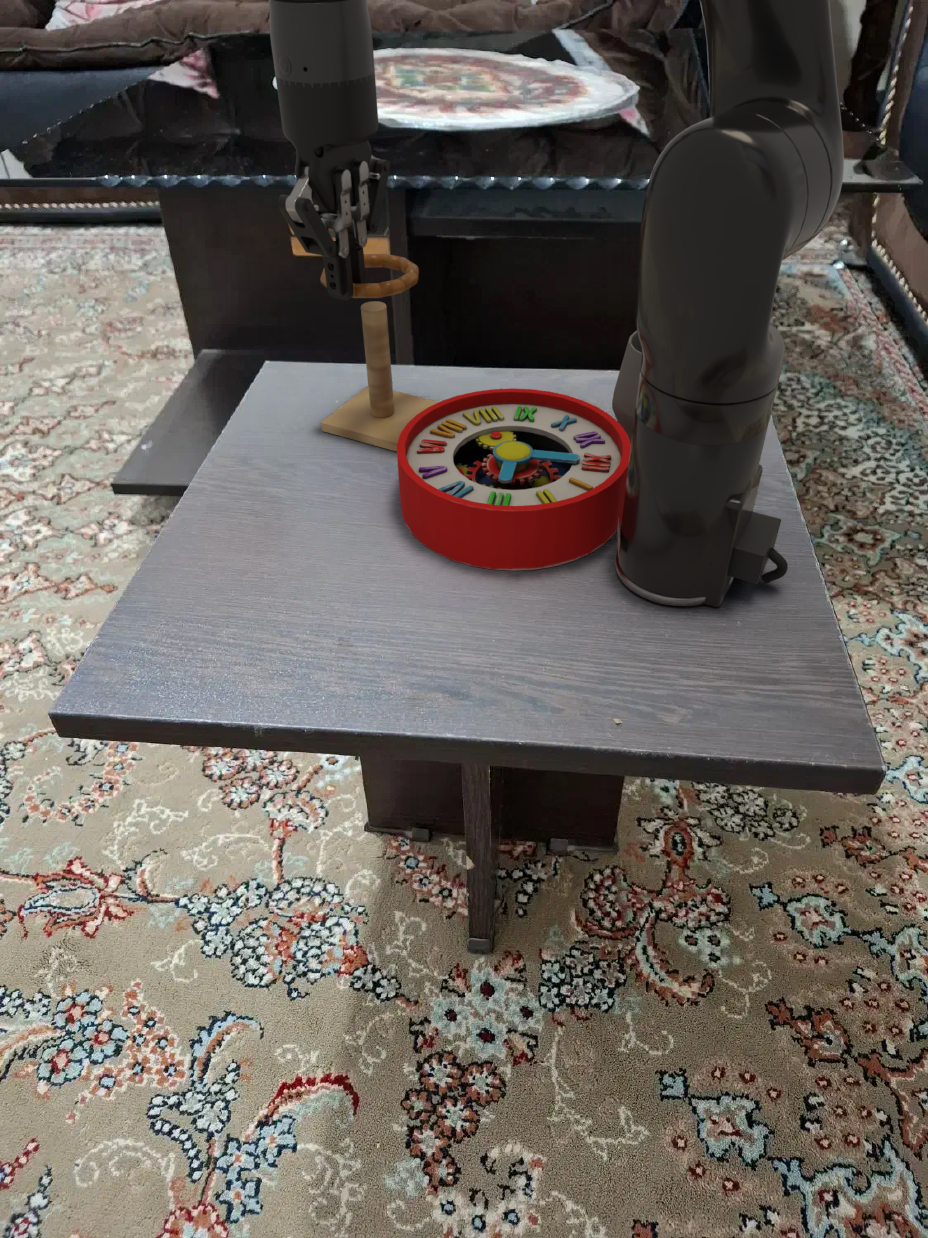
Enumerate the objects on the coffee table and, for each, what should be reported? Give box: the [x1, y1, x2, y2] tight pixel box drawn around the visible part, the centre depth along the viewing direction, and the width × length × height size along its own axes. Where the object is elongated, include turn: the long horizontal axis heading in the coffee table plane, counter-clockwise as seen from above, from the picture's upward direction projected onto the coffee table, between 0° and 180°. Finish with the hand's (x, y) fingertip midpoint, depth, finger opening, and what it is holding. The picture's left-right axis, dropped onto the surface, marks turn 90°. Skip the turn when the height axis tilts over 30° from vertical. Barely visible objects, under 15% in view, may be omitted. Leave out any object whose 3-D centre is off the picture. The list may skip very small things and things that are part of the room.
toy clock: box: [396, 387, 631, 572], centre depth 78 cm, size 20×6×20 cm
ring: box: [320, 253, 420, 299], centre depth 81 cm, size 9×9×1 cm
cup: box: [611, 330, 642, 443], centre depth 84 cm, size 10×9×10 cm
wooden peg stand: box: [320, 300, 439, 453], centre depth 87 cm, size 9×9×12 cm
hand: (347, 292), depth 79 cm, fingers closed on ring, 1 cm apart
